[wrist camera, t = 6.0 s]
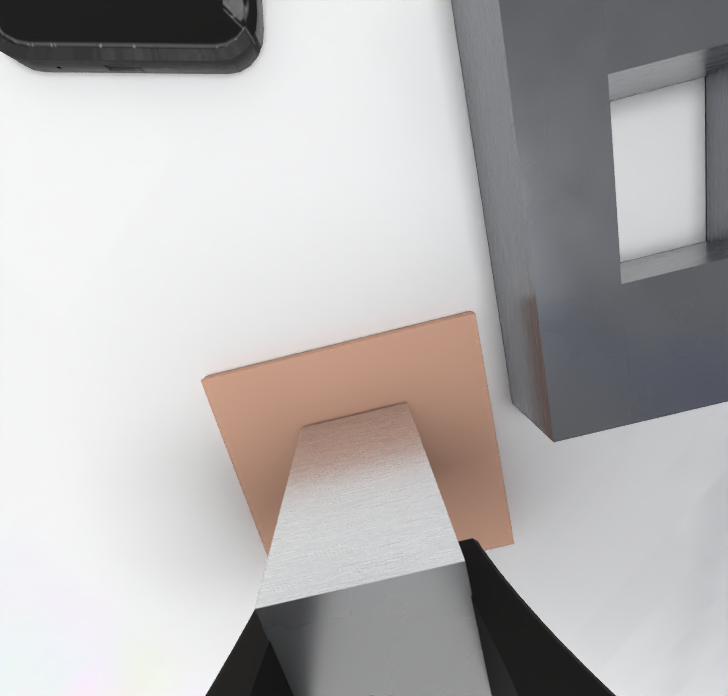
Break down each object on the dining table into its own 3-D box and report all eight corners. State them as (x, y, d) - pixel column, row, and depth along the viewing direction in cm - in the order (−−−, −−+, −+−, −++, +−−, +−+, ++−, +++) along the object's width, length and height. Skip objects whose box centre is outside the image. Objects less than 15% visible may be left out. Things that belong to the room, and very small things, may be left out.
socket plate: (770, 342, 14) (879, 365, 11) (512, 404, 14) (553, 442, 11) (788, -119, 11) (954, -259, 8) (447, -25, 11) (483, -127, 8)
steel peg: (427, 492, 15) (495, 706, 8) (329, 515, 15) (313, 745, 8) (406, 402, 13) (465, 561, 7) (301, 427, 14) (254, 608, 7)
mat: (509, 534, 16) (514, 543, 15) (285, 586, 16) (283, 596, 16) (470, 311, 13) (475, 313, 13) (206, 376, 14) (200, 380, 13)
